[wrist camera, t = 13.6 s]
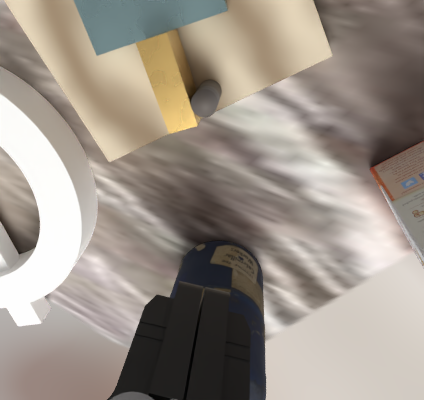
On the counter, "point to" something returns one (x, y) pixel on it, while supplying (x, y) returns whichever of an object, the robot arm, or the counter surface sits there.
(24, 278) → the white circle with bar
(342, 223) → the counter surface
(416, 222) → the cracker box
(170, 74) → the t-shaped piece
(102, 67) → the base board
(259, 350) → the canister
